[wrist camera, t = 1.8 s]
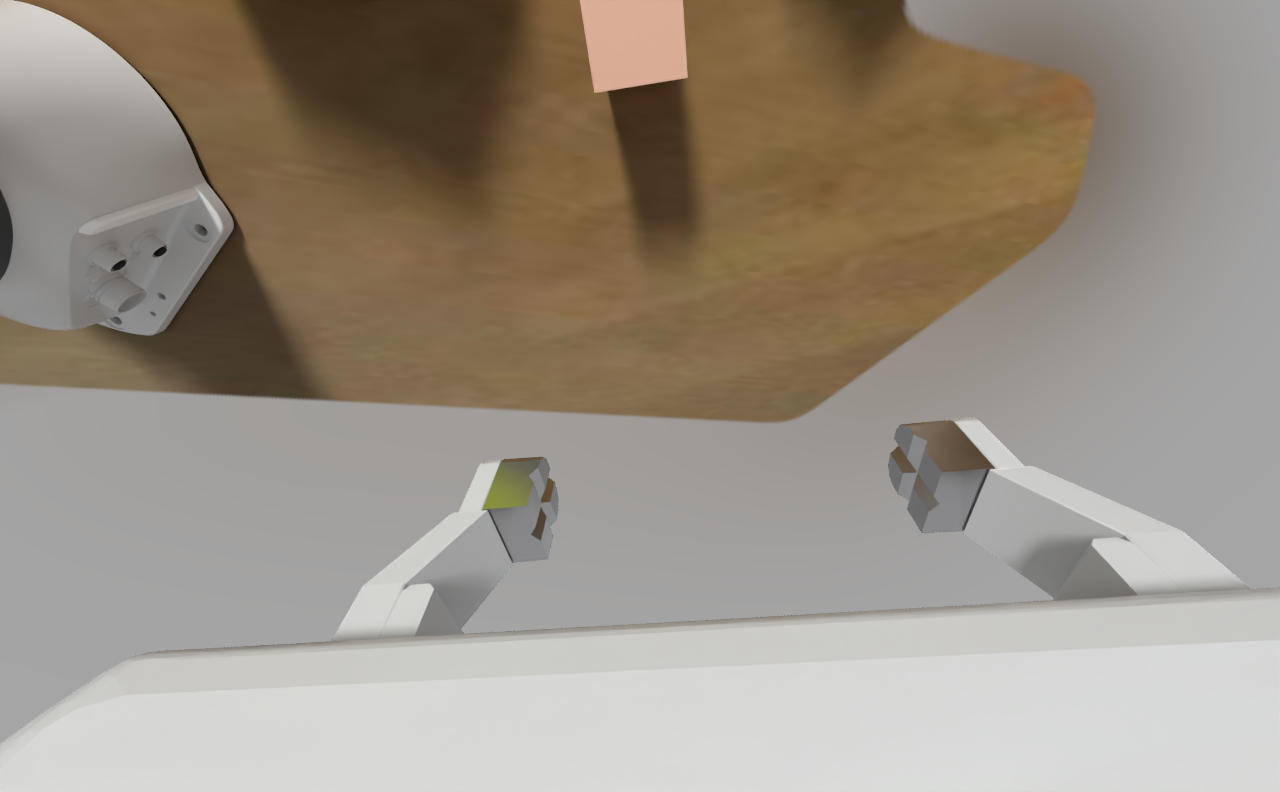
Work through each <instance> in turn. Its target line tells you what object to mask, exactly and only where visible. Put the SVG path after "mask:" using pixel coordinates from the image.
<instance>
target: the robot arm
mask: <svg viewBox="0 0 1280 792" xmlns="http://www.w3.org/2000/svg"><path fill="white" fill-rule="evenodd" d="M202 226H203V227H205V229H206V230H207V232H206V231H205V230H204V229H203V227H202ZM233 227H234V223H233V219H232V217H231V215H230V213H229V212H228V210H227V208H226V207H225V206H224V204H223V203H222V201H221V200H220V199H219V198H218V196H217V195H216V194H215V192H214V191H213V190H212V189H211V187H210V186H209V185H208V184H207V182H206V181H205V179H204V177H203V175H202V173H201V171H200V169H199V167H198V164H197V162H196V159H195V157H194V154H193V152H192V150H191V147H190V145H189V143H188V141H187V139H186V137H185V135H184V133H183V131H182V129H181V128H180V126H179V124H178V123H177V121H176V119H175V118H174V116H173V115H172V113H171V112H170V110H169V109H168V108H167V106H166V105H165V103H164V102H163V101H162V99H161V98H160V97H159V96H158V94H157V93H156V92H155V91H154V90H153V88H152V87H151V86H150V85H149V84H148V83H147V82H146V81H145V79H144V78H143V77H142V76H141V75H140V74H139V73H138V72H137V71H136V70H135V69H134V68H133V67H132V66H131V65H130V64H129V63H127V62H126V61H125V60H124V59H123V58H122V57H121V56H120V55H118V54H117V53H116V52H115V51H114V50H113V49H111V48H110V47H109V46H107V45H106V44H105V43H103V42H102V41H101V40H99V39H98V38H97V37H95V36H94V35H92V34H91V33H89V32H88V31H86V30H85V29H83V28H81V27H80V26H78V25H76V24H75V23H73V22H71V21H69V20H67V19H65V18H63V17H61V16H59V15H57V14H55V13H53V12H50V11H48V10H45V9H43V8H40V7H37V6H34V5H31V4H27V3H23V2H19V1H13V0H0V316H3V317H6V318H8V319H11V320H14V321H17V322H20V323H24V324H27V325H31V326H35V327H39V328H44V329H51V330H76V329H81V328H85V327H88V326H91V325H94V324H97V323H98V324H100V325H103V326H106V327H109V328H112V329H116V330H119V331H123V332H128V333H132V334H139V335H155V334H157V333H160V332H163V331H164V330H165V329H166V328H167V326H168V325H169V324H170V322H171V321H172V319H173V318H174V316H175V315H176V313H177V312H178V310H179V309H180V307H181V306H182V305H183V303H184V302H185V300H186V299H187V297H188V296H189V294H190V293H191V291H192V290H193V288H194V287H195V285H196V284H197V282H198V281H199V279H200V278H201V277H202V275H203V274H204V272H205V271H206V269H207V268H208V266H209V265H210V263H211V262H212V260H213V259H214V257H215V256H216V254H217V253H218V252H219V250H220V249H221V247H222V246H223V244H224V243H225V241H226V240H227V238H228V237H229V235H230V234H231V232H232V230H233ZM894 439H895V441H896V442H897V444H898V445H899V446H898V447H897V448H896V449H895V450H894V451H893V452H891V453H890V459H889V464H888V467H889V476H890V479H891V482H892V484H893V486H894V488H895V490H896V491H897V493H898V494H899V495H901V496H903V497H904V498H906V499H907V500H909V504H908V508H907V510H908V511H909V513H910V515H911V516H912V518H913V519H914V521H915V523H916V524H917V526H918V528H919V529H920V531H921V533H933V532H956V531H964V534H966V535H967V536H968V537H970V538H971V539H972V540H974V541H975V542H977V543H978V544H979V545H981V546H982V547H984V548H985V549H986V550H988V551H989V552H991V553H992V554H993V555H995V556H996V557H998V558H999V559H1000V560H1002V561H1003V562H1005V563H1006V564H1007V565H1009V566H1010V567H1012V568H1013V569H1014V570H1016V571H1017V572H1018V573H1020V574H1021V575H1023V576H1024V577H1025V578H1027V579H1028V580H1030V581H1031V582H1032V583H1034V584H1035V585H1037V586H1038V587H1039V588H1041V589H1042V590H1044V591H1045V592H1046V593H1048V594H1049V595H1051V596H1052V597H1053V598H1054V599H1053V600H1050V601H1033V602H1015V603H998V604H981V605H964V606H945V607H927V608H909V609H892V610H875V611H858V612H840V613H822V614H805V615H787V616H770V617H754V618H736V619H720V620H719V619H718V620H703V621H685V622H684V621H683V622H665V623H647V624H630V625H612V626H595V627H594V626H593V627H575V628H559V629H540V630H523V631H505V632H488V633H470V634H464V633H463V632H462V630H461V628H462V627H463V626H464V624H465V623H466V622H467V621H468V619H469V618H470V617H471V616H472V615H473V613H474V612H475V611H476V610H477V609H478V607H479V606H480V605H481V604H482V602H483V601H484V600H485V599H486V597H487V596H488V595H489V594H490V592H491V591H492V590H493V589H494V587H495V586H496V585H497V584H498V583H499V581H500V580H501V579H502V578H503V576H504V575H505V574H506V573H507V571H508V570H509V569H510V568H511V567H512V565H513V563H515V562H525V561H536V560H546V559H548V557H549V552H550V548H551V543H552V539H553V534H552V531H551V528H550V526H551V525H552V524H553V523H554V522H555V521H556V519H557V514H558V494H557V488H556V485H555V482H553V481H552V480H551V479H550V478H548V475H549V471H550V467H549V464H548V462H547V459H546V458H544V457H532V458H517V459H504V460H493V461H484V462H483V463H481V464H480V465H479V467H478V469H477V471H476V474H475V476H474V478H473V481H472V483H471V485H470V487H469V489H468V492H467V494H466V496H465V499H464V501H463V503H462V505H461V508H460V510H459V512H458V513H452V514H450V515H449V516H448V517H447V518H446V519H444V520H443V521H442V522H441V523H440V524H438V525H437V526H436V527H434V528H433V529H432V530H431V531H429V532H428V533H427V534H426V535H425V536H423V537H422V538H421V539H420V540H418V541H417V542H416V543H415V544H414V545H412V546H411V547H410V548H409V549H407V550H406V551H405V552H404V553H402V554H401V555H400V556H399V557H398V558H396V559H395V560H394V561H393V562H392V563H390V564H389V565H388V566H387V567H385V568H384V569H383V570H382V571H380V572H379V573H378V574H377V575H376V576H374V577H373V578H372V579H371V580H369V581H368V582H367V583H366V584H364V585H363V586H362V588H361V590H360V591H359V593H358V595H357V597H356V598H355V600H354V602H353V604H352V605H351V607H350V609H349V611H348V612H347V614H346V616H345V618H344V620H343V621H342V623H341V625H340V627H339V628H338V630H337V632H336V634H335V636H334V637H333V639H332V641H331V642H314V643H296V644H278V645H260V646H243V647H224V648H205V649H186V650H167V651H158V652H148V653H144V654H140V655H136V656H133V657H131V658H129V659H126V660H124V661H123V662H121V663H119V664H117V665H116V666H114V667H112V668H111V669H109V670H107V671H106V672H104V673H102V674H100V675H99V676H97V677H96V678H94V679H93V680H91V681H90V682H88V683H87V684H85V685H84V686H82V687H81V688H79V689H78V690H76V691H75V692H73V693H72V694H70V695H69V696H67V697H66V698H64V699H63V700H61V701H60V702H58V703H57V704H55V705H54V706H52V707H51V708H49V709H48V710H46V711H45V712H43V713H42V714H40V715H39V716H37V717H36V718H35V719H33V720H32V721H31V722H29V723H28V724H26V725H25V726H23V727H22V728H21V729H19V730H18V731H16V732H15V733H14V734H12V735H11V736H10V737H8V738H7V739H6V740H5V741H4V742H2V743H1V744H0V792H1280V587H1278V588H1260V589H1251V588H1249V587H1248V586H1247V585H1246V584H1245V583H1243V582H1242V581H1241V580H1240V579H1239V578H1237V577H1236V576H1235V575H1234V574H1233V573H1231V572H1230V571H1229V570H1228V569H1227V568H1226V567H1224V566H1223V565H1222V564H1221V563H1220V562H1219V561H1217V560H1216V559H1215V558H1214V557H1213V556H1211V555H1210V554H1209V553H1208V552H1207V551H1205V550H1204V549H1203V548H1202V547H1201V546H1199V545H1198V544H1197V543H1196V542H1195V541H1194V540H1192V539H1191V538H1190V537H1189V536H1188V535H1187V534H1185V533H1184V532H1183V531H1181V530H1178V529H1176V528H1174V527H1172V526H1169V525H1167V524H1165V523H1162V522H1160V521H1158V520H1155V519H1153V518H1151V517H1149V516H1146V515H1144V514H1142V513H1139V512H1137V511H1135V510H1132V509H1130V508H1128V507H1125V506H1123V505H1121V504H1118V503H1116V502H1114V501H1112V500H1109V499H1107V498H1105V497H1103V496H1100V495H1098V494H1096V493H1093V492H1091V491H1089V490H1086V489H1084V488H1082V487H1079V486H1077V485H1075V484H1073V483H1070V482H1068V481H1066V480H1063V479H1061V478H1059V477H1057V476H1054V475H1052V474H1050V473H1047V472H1045V471H1043V470H1040V469H1038V468H1036V467H1033V466H1027V467H1025V466H1024V465H1022V463H1021V462H1020V461H1019V460H1018V459H1017V458H1016V457H1014V455H1013V454H1012V453H1011V452H1010V451H1009V450H1008V449H1007V448H1006V447H1005V446H1004V445H1003V444H1002V443H1001V442H1000V441H999V440H998V439H997V438H996V437H995V436H994V435H993V434H992V433H991V432H990V431H989V430H988V429H987V428H986V427H985V426H984V425H983V424H982V423H981V422H980V421H979V420H978V419H975V418H973V417H968V418H958V419H949V420H944V421H933V422H922V423H912V424H902V425H900V426H899V427H898V428H897V430H896V433H895V437H894Z"/></svg>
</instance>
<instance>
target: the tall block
mask: <svg viewBox="0 0 1280 792" xmlns="http://www.w3.org/2000/svg"><path fill="white" fill-rule="evenodd" d="M580 4H581V10H582V17H583V23H584V29H585V35H586V42H587V48H588V54H589V61H590V67H591V73H592V79H593V86H594V92H595V93H597V92H604V91H610V90H616V89H622V88H629V87H635V86H641V85H647V84H653V83H659V82H665V81H672V80H678V79H683V78H688V76H687V60H686V44H685V28H684V12H683V0H580Z"/></svg>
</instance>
